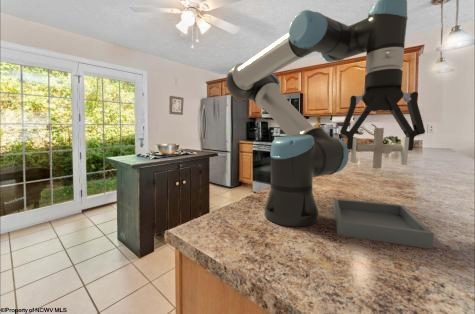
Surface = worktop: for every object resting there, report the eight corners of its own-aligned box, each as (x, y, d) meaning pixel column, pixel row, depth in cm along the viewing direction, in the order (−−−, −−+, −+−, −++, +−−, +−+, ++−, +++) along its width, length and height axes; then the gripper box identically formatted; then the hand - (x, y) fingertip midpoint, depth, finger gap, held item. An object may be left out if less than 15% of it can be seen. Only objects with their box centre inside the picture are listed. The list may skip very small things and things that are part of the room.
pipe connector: (410, 172, 49) (414, 127, 48) (362, 171, 51) (364, 128, 50) (389, 165, 58) (392, 127, 57) (349, 164, 60) (351, 128, 59)
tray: (337, 234, 51) (337, 221, 51) (333, 209, 68) (334, 198, 68) (432, 249, 45) (433, 233, 45) (402, 216, 62) (403, 205, 61)
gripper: (332, 72, 52) (328, 163, 55) (453, 60, 44) (441, 167, 47) (331, 79, 59) (328, 159, 62) (435, 70, 51) (426, 162, 54)
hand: (377, 163), depth 55 cm, fingers closed on pipe connector, 10 cm apart
